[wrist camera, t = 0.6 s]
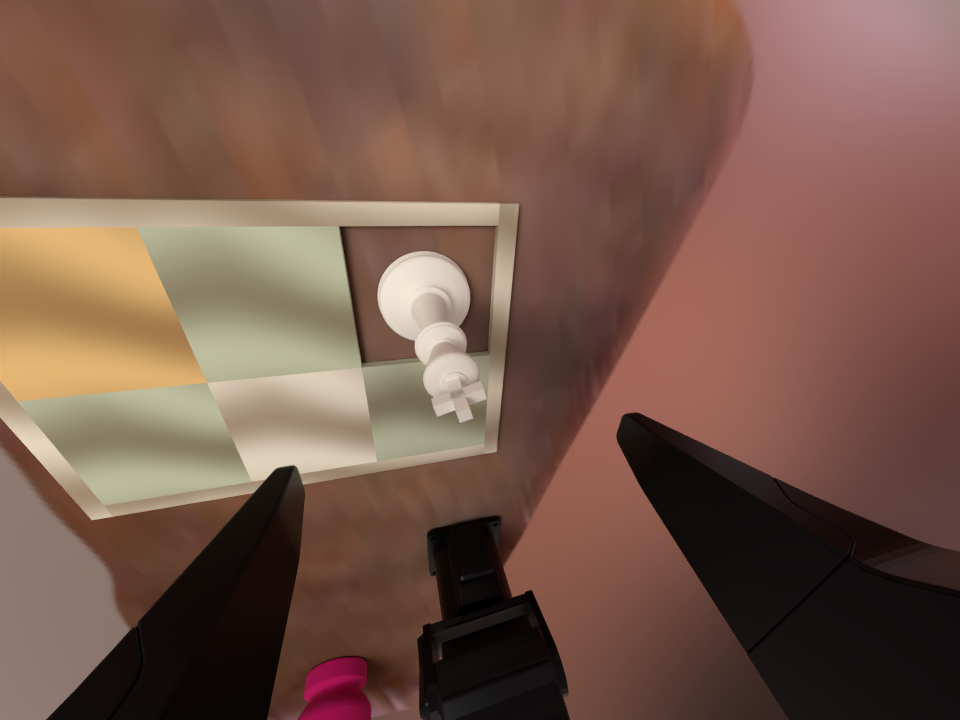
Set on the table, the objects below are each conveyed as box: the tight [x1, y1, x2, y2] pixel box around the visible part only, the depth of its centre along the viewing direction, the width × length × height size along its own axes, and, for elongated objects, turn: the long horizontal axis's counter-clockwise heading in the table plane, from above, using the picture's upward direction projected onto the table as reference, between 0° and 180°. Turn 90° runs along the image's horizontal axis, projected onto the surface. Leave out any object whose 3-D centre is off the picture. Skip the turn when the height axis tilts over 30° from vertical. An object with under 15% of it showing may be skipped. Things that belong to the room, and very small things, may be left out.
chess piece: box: [378, 251, 487, 423], centre depth 14 cm, size 5×5×10 cm
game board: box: [0, 196, 519, 520], centre depth 18 cm, size 17×24×1 cm
